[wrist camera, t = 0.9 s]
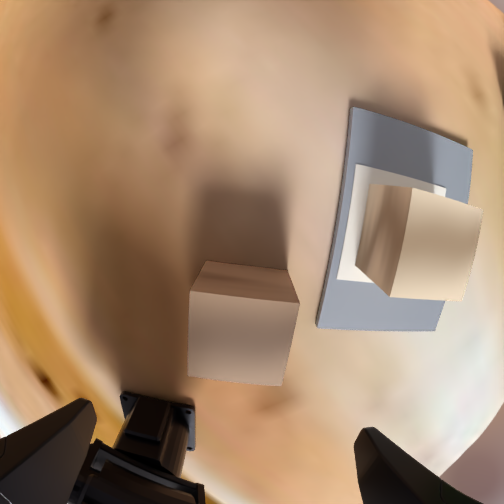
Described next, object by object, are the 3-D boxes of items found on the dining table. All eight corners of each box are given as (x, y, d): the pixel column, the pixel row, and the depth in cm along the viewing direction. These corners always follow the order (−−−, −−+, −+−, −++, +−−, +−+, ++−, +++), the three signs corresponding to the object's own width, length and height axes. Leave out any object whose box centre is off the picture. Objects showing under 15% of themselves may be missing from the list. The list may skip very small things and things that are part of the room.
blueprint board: (430, 327, 19) (435, 331, 18) (315, 323, 18) (317, 328, 18) (467, 150, 15) (473, 149, 15) (350, 108, 15) (353, 106, 14)
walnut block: (274, 339, 19) (281, 386, 14) (201, 330, 19) (187, 375, 14) (287, 269, 18) (299, 303, 13) (206, 260, 17) (189, 290, 13)
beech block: (418, 272, 17) (461, 301, 12) (354, 265, 17) (389, 297, 12) (433, 199, 16) (483, 209, 11) (369, 183, 15) (412, 187, 11)
